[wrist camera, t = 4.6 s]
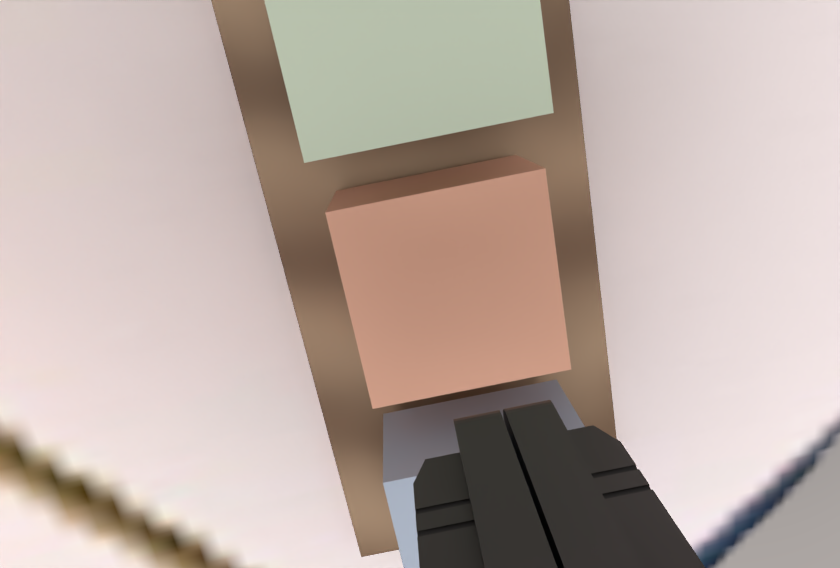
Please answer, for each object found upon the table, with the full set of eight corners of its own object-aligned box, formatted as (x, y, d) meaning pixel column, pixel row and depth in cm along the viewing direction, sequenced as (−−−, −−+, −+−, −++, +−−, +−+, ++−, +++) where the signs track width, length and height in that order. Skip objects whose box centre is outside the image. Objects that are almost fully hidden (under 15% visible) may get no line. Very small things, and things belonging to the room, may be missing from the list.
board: (195, -86, 19) (162, -117, 16) (542, -157, 19) (570, -200, 16) (362, 540, 26) (359, 594, 24) (615, 490, 26) (643, 538, 23)
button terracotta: (336, 190, 20) (325, 212, 16) (515, 154, 20) (545, 168, 16) (374, 355, 22) (372, 408, 18) (539, 323, 22) (571, 369, 18)
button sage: (267, -76, 16) (233, -126, 13) (487, -121, 16) (517, -184, 13) (320, 148, 18) (303, 163, 15) (519, 108, 18) (553, 112, 15)
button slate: (383, 413, 21) (382, 482, 17) (556, 379, 21) (593, 440, 17) (416, 555, 23) (422, 646, 19) (576, 524, 23) (613, 608, 19)
